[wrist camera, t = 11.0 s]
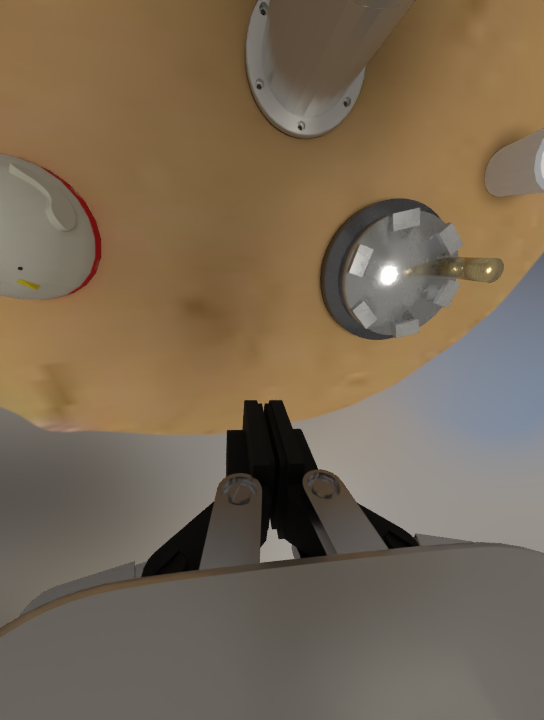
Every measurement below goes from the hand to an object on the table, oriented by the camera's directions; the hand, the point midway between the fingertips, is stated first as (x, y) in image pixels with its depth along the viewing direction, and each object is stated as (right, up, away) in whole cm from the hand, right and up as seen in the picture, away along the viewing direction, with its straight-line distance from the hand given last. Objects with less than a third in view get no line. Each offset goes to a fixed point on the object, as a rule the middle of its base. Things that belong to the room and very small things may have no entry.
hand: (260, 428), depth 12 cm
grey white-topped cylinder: (+31, +28, +24) cm, 48 cm away
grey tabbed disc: (+16, +14, +24) cm, 32 cm away
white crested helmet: (-26, +17, +19) cm, 36 cm away
